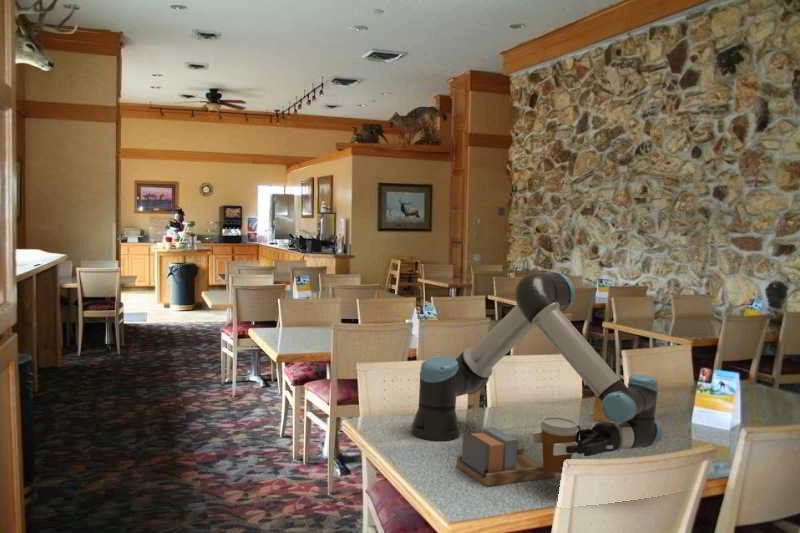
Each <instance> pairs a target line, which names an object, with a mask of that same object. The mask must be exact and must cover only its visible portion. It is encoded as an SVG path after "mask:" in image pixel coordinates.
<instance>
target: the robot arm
mask: <svg viewBox="0 0 800 533" xmlns="http://www.w3.org/2000/svg"><path fill="white" fill-rule="evenodd" d="M514 297H515V298H514V299H515V302H516V305H515V306H514V307H513V308H512V309H511V310H510V311H509V312H508V313H507V314H506V315H505V316H504V317H503V318H502V319H501V320H500V321H498V323H497V324H496V325H495V326H494V327H493V328H492V329H491V330H490V331H489V332H488V333H487V334H486V335H485V336H484V337H483V338H482V339H481V340H480V341H479V342H478V343H477V344H475V346H474V347H467V348H466V349H464V350H463V351H462V353H460V354H459V355H458V356H457V357H456V358H453V357H449V356H438V357H437V356H434V357H430V358H427V359H425V360H424V361H423V362H422V363H421V366H420V372H419V394H418V408H417V410H416V414H415V415H414V418H413V420H412V423H411V434H413V435H414V436H415V437H417V438H421V439H423V440H430V441H440V442H442V441H452V440H456V439H457V438H459V437H460V433H461V431H460V430H461V428H460V424H459V420H458V416H457V412H456V411H457V410H456V408H457V404H456V403H457V398H458V397H461V396H465V395H467V394H468V395H469V394H474V393H476V392H479V391H480V390H482V389H484V387H485V386H486V385H487V384H488V382H489V380H490V377H491V375H492V374H493V367H495V366H496V365H497V364H498V363H499V361H501V360H502V358H504V357H505V356H506V355H507V354H508V353H510V351H511V350H512V349H514V347H515V346H516V345H517V344H519V342H521V341H522V340H523V339H524V338H525V337H526V336H527V335H528V334H529V333H530V332H532V330H533V329H534V328H536V327H537V328H538V329H539V330H540V331H541V332H542V334H544V336H545V337H546V338H547V339H548V340H549V341H550V343H551V344H552V346H554V347H555V349H557V351H558V352H559V353H560V354H561V356H562V357H563V358H564V359H565V360H566V361H567V363H568V364H569V365H570V367H571V368H572V369H573V370H574V371H575V372H576V373H577V375H579V377H580V379H582V380H583V381H584V383H585V384H586V385H587V387H588V388H589V389H590V390H591V391H592V392H593V394H594V395H595V394H596V396H597V397H598V398H599V399H600V401H601V402H602V411H603V414H604V415H605V416H606V418H608V419H609V420H610V421H611V422H598V423H596V424H595V425H594V426H593V427H592V428H585V429H583V428H581V426H580V425H577V428H578V429H579V431H578V432H577V434H576V438H575V442H567V443H558V444H554V449H553V455H555V456H557V455H565V454H572V455H573V454H576V453H577V454H578V455H582V454H583V456H585V457H591V456H594V455H598V454H603V453H612V452H615V451H617V452H621V450H630V449H639V448H640V449H642V448H643V449H646V448H650V447H654V446H656V445H659V443H661V441H662V439H663V435H664V433H663V432H664V431H663V430H662V429H663V428H662V425H661V423H660V422H659V421H658V420H657V419H656V412H657V411H656V409H657V408H656V407H657V400H658V393H659V390H658V389H659V382H658V380H657V379H656V378H655V377H653V376H650V375H645V374H632V375H630V376H629V378H628V383H627V385H626V384H625V383H624V382H623V380H622V379H620V377H619V376H618V375H617V374H616V373H615V371H614V370H613V369H612V368H611V367H610V366H609V365H608V364H607V363H606V361H605V360H604V359H603V358H602V357H601V355H600V354H599V353H598V352H597V350H595V349H594V347H593V346H592V345H591V344H590V342H588V341H587V340H586V339H585V336H583V334H581V333H580V331H579V330H578V328H576V327H575V326H574V324H573V323H572V322H571V321H570V320H569V319H568V318H567V316H566V315H564V313H563V311H566V310H567V309H569V308H570V307H571V306H572V305H573V303H574V300H575V297H576V292H575V286H574V284H573V281H572V280H571V279H570V278H569V277H568V276H566V275H565V274H563V273H559V272H556V271H551V272H536V273H535V272H534V273H532V272H531V273H529V274H526V275H525V276H523V277H522V278H521V279H519V281H518V283H517V285H516V287H515V290H514ZM530 444H532V445H533V444H542V431H533V432H531V436H530Z"/></svg>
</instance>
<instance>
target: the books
mask: <svg viewBox="0 0 800 533" xmlns="http://www.w3.org/2000/svg"><path fill="white" fill-rule="evenodd" d="M471 434H472V435H474V436H475V437H477V438H479V439H481V440H482V441H484V442H486V443H488V444H489V445H490V451H489V466H488V473H493V472H500V471H508V470H515V469H516V456H517V448H518V439H517V438H515V437H513V436H511V435H509V434H507V433H505V432H503V431H502V430H499V429H498V428H497V427H485V428H483V429H482V432H476V433H471Z"/></svg>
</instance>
